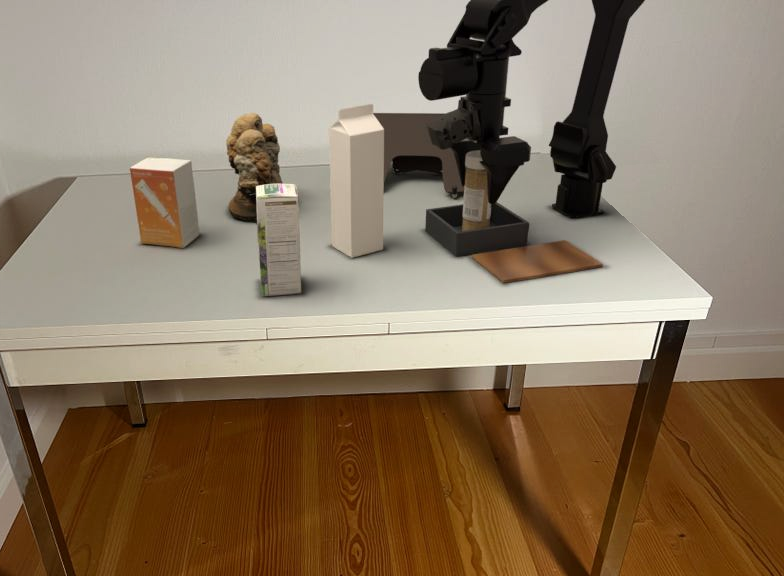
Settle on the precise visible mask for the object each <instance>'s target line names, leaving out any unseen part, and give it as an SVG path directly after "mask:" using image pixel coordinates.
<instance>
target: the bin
mask: <svg viewBox="0 0 784 576" xmlns="http://www.w3.org/2000/svg"><path fill="white" fill-rule="evenodd" d="M462 225H463V203H461V204H455V205H447V206H441V207H433V208H426V209H425V228H424V231H425V232H426V234H428V235H429V236H430V237H431V238H433V240H435V241H436V242H438V244H440V245H441V246H442V247H443V248H445V249H446V250H447V251H448V252H449V253H451V254H452V255H453V256H454V257H463V256H470V255H473V254H480V253H486V252H493V251H499V250H505V249H512V248H518V247H525V246H528V239H529V231H530V222H529V221H528V220H527V219H525V218H523V217H522V216H520V215H518V214H516V213H515V212H514V211H512V210H511V209H508V207H505V206H504V205H502V204H501V203H499V202H498V201H497V202H496V203H494V204H491V216H490V225H489V227H488V228H481V229H474V230H468V231H462Z"/></svg>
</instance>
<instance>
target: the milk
mask: <svg viewBox="0 0 784 576" xmlns="http://www.w3.org/2000/svg"><path fill="white" fill-rule="evenodd" d="M373 113H374V104H373V103H367V104H360V105H355V106H350V107H344V108H339V110H338V120H337V121H336V122H334V123H333V124H332V125H331V126H329V127H328V144H329V145H328V146H329V147H328V149H329V181H330V183H329V185H330V219H331V220H330V222H331V225H330V226H331V246H332V247H333V248H334V249H335V250H337V251H339V252H341V253H342V254H344V255H346V256H347V257H349V258H352V259H353V258H357V257H360V256H364V255H368V254H371V253H375V252H379V251H382V250H384V191H385V190H384V187H385V186H384V183H385V181H384V128H383V127H382V126H381V124H380V123H379V121H378V120H377V119H376V117H375V116H374V114H373Z"/></svg>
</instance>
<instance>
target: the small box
mask: <svg viewBox="0 0 784 576" xmlns="http://www.w3.org/2000/svg"><path fill="white" fill-rule="evenodd" d="M129 172H130V179H131V186H132V192H133V199H134V205H135V206H134V207H135V212H136V218H137V225H138V230H139V239H140V243H141V244H143V245H144V244H145V245H156V246H162V247H163V246H164V247H171V248H172V247H173V248H179V249H184V248H185V247H187V246H188V245H190V243H191V242H193V241H194V240H196V239H197V238H198V237H199V236H200V234H201V233H200V225H199V216H198V205H197V198H196V191H195V190H196V189H195V182H194V181H195V180H194V174H193V164H192V160H191V159H179V158H168V157H167V158H166V157H165V158H160V157H146V158H144V159H142V160H140V161H139V162H137V163H135V164H134V165H132V166H130V167H129Z"/></svg>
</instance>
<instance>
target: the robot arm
mask: <svg viewBox="0 0 784 576" xmlns="http://www.w3.org/2000/svg"><path fill="white" fill-rule="evenodd" d="M645 1H646V0H591V3H592V8H593V11H594V20H593V24H592V28H591V31H590V35H589V39H588V44H587V48H586V53H585V57H584V60H583V64H582V69H581V72H580V76H579V80H578V85H577V88H576V93H575V95H574V96H575V97H574V100H573V104H572V108H571V111H570V113H569V114H568V115H567V116H566V117H565V119H564V120H563V121H559V120H558V121H556V122H555V124H554V126H553V131H552V136H551V139H550V142H549V144H548V147H550V150H549V156H550V158H551V159H552V164H553V169H554V172H555V173H559V174H561V175H560V181H559V182H560V183H558V184H557V189H556V197H555V198H556V199H555V202H554V203H551V208H553V209H555V210H556V211H558V212H560V213H562V214H564V215H565V216H566V217H569V218H570V219H576V218H582V217H588V216H589V217H590V216H595V215H602V214H605V209H603V208H601V207H600V205H601V204H600V203H601V197H602V192H603V186H604V183H605V184H606V183H607V182H608V181H609V180H612V179H613V176H614V175H615V171H616V169H617V165H616V164H615V162H614V161H613V159H612V158H611V157H610V156H609V154H608V152H607V146H608V139H609V134H608V129H607V126H606V121H605V118H604V116H605V111H606V108H607V104H608V100H609V95H610V93H611V89H612V86H613V82H614V78H615V74H616V70H617V66H618V63H619V59H620V56H621V52H622V47H623V44H624V41H625V37H626V33H627V29H628V26H629V23H630V19H631V18H632V16H633V15H634V14H635V13H636V12H637V11H638V10H639V8H640V7H641V6H642V5H643V4H644V3H645ZM547 2H549V0H469V1H468V3H467V4H466V5H465V12H464V14H463V15H462V17H461V19H460V21H459V23H458V24H457V26H456V28H455V30H454V32H453V33H452V35H451V37H450V38H449V40H448V42H447V44H446V47H431V48H429V49H428V57H427V58H425V59H424V61H423V62H422V64H421V66H420V70H419V72H418V86H419V89H420V92H421V95H422V96H423V97H424V98H425V99H426V100H427V101H430V102H431V101H438V100H444V99H445V100H446V99H450V98H455V97H460V99H458V102H457V104H458V105H457V108H456V109H454V110H451V111H449V112H446V114H444V115H442V116H440V117H438V118H436V119H434V120H432V121H430V122H429V123H427V125H426V126H427V129H428V132H429V135H430V139H431V142H432V144H433V145H436V146H438V147H439V149H442V150H444V149H448V148H450V149H451V150H452V151H453V152H454V155H455V159H456V163H457V167H458V172H459V176H460V180H461V185H462V186H464V185H465V176H466V166H465V159H466V154H467V153H468V152H471V151H477V150H480V155H481V158H482V161H479V162H480V164H481V165H482V166H483V167H484V168H485V169H486V170H487V188H488V203H489V204H494V203H496V202H498V200H499V199H500V197H501V196H502V194H503V193H504V191H505V189H506V187H507V186H508V184H509V182H510V181H511V179H512V177H513V176H514V175H515V173H516V172H517V171H518V169H519V168H520V167H522V166H524V165H525V163H527V162H529V161H531V152H532V146H530V144H529V143H528V142H527V141H525V139H524V140H523V139H522V138H519V137H517V136H514V135H513V136H512V135H511V136H508V135H509V127H507V126H505V125H504V120H505V119H504V118H505V109H506V108H508V107H511V106H512V98H509V97H507V86H508V85H507V84H508V73H509V62H510V58H511V57H517V56H521V55H522V53H523V52H522V49H521V48H520V47H519V46H517V44H516V43H515V42H514V40H513V39H514V37H516V36H517V35H518V34H519V33H520V32H521V31H522V30H523V29H524V28H525V27H526V26H527V25H528V23H529V21H530V18H531V17H532V14H533V13H534V12H535V11H536V10H537V9H539V8H540V7H541V6H543V5H545V4H546V3H547ZM502 136H504V137H502Z"/></svg>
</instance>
